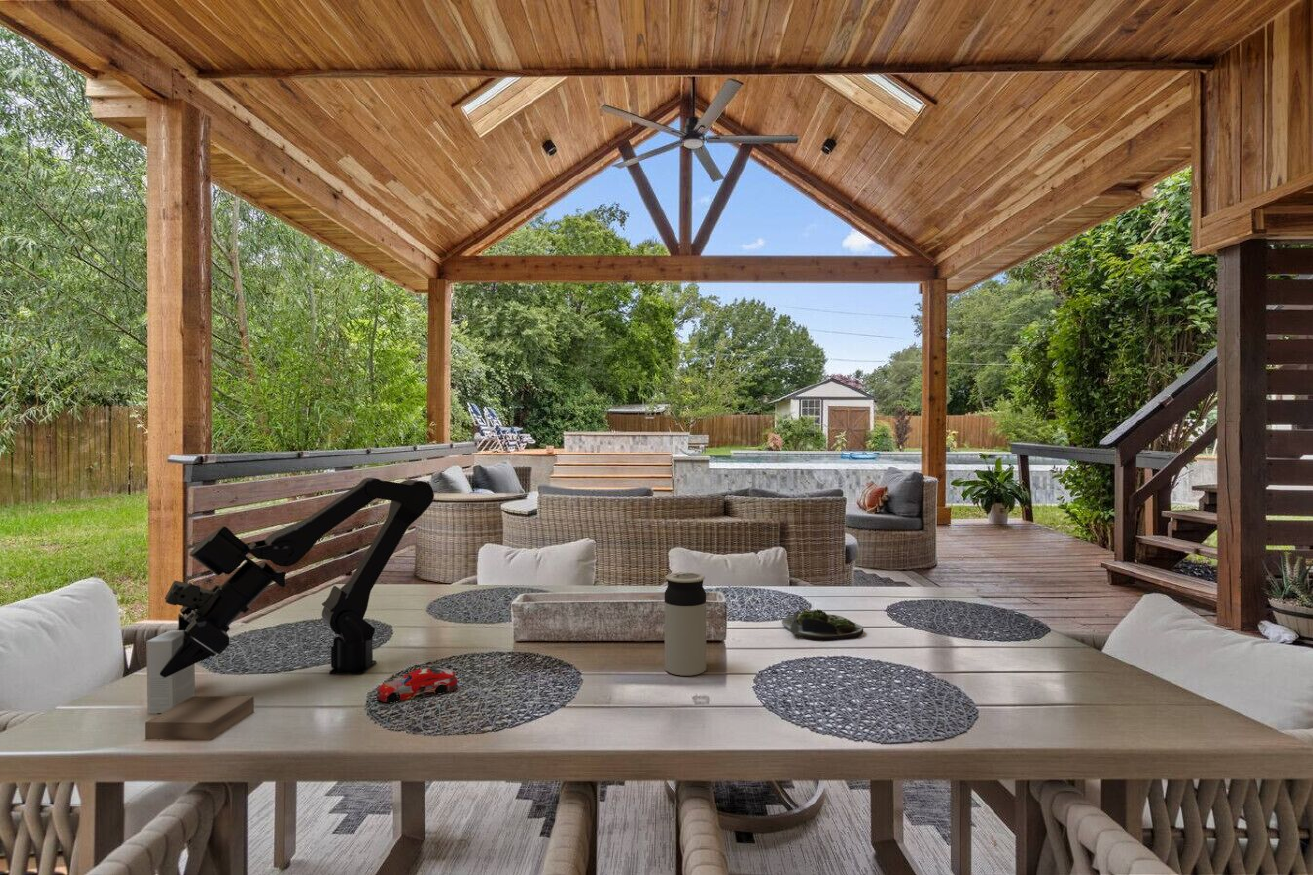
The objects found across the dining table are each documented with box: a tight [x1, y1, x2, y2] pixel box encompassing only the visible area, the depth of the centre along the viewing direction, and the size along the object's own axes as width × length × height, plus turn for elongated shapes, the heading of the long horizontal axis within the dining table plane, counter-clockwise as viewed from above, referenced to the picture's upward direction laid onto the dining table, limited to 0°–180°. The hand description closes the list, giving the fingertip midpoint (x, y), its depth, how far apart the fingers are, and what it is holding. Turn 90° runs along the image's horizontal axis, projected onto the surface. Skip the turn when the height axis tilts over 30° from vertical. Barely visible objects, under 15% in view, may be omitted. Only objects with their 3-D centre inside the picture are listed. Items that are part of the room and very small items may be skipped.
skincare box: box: [145, 629, 196, 715], centre depth 111 cm, size 6×4×12 cm
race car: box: [376, 667, 459, 704], centre depth 117 cm, size 13×5×4 cm, turn 116°
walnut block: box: [144, 695, 255, 741], centre depth 104 cm, size 10×10×3 cm
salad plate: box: [781, 608, 864, 642], centre depth 156 cm, size 19×18×5 cm
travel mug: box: [664, 571, 707, 677], centre depth 128 cm, size 8×8×18 cm
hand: (160, 668), depth 110 cm, fingers open, 9 cm apart
